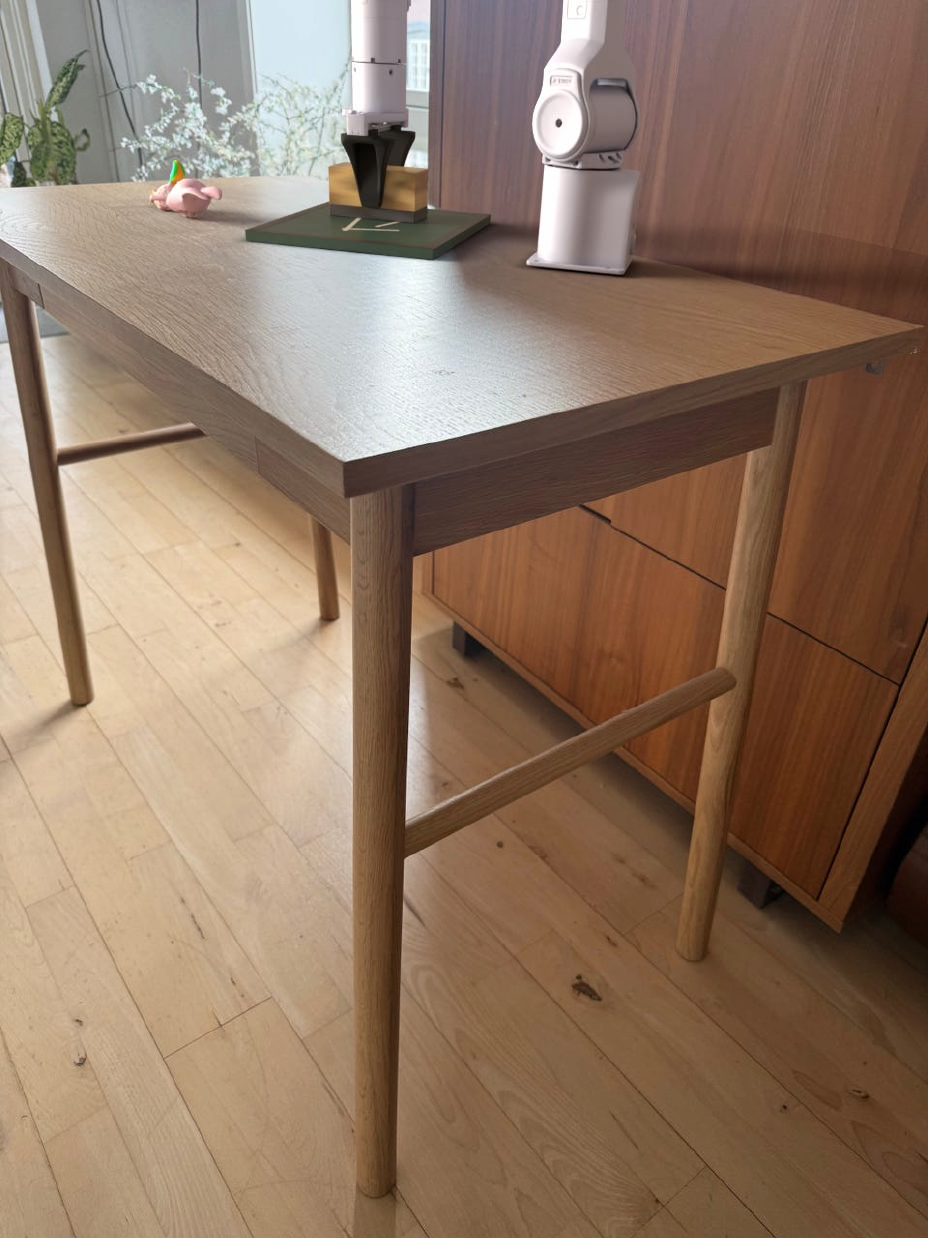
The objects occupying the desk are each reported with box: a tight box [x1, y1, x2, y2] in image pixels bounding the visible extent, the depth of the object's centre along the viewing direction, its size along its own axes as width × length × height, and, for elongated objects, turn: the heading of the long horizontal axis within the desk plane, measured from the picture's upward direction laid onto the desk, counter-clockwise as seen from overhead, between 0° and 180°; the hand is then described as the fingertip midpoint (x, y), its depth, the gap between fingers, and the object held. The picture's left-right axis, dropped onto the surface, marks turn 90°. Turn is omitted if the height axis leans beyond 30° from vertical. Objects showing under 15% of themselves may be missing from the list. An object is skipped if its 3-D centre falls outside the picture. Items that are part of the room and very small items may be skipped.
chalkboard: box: [244, 201, 492, 261], centre depth 103 cm, size 20×24×1 cm
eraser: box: [327, 161, 429, 223], centre depth 104 cm, size 10×5×5 cm, turn 75°
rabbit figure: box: [149, 159, 223, 218], centre depth 104 cm, size 6×6×15 cm
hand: (379, 203), depth 105 cm, fingers closed on eraser, 5 cm apart
